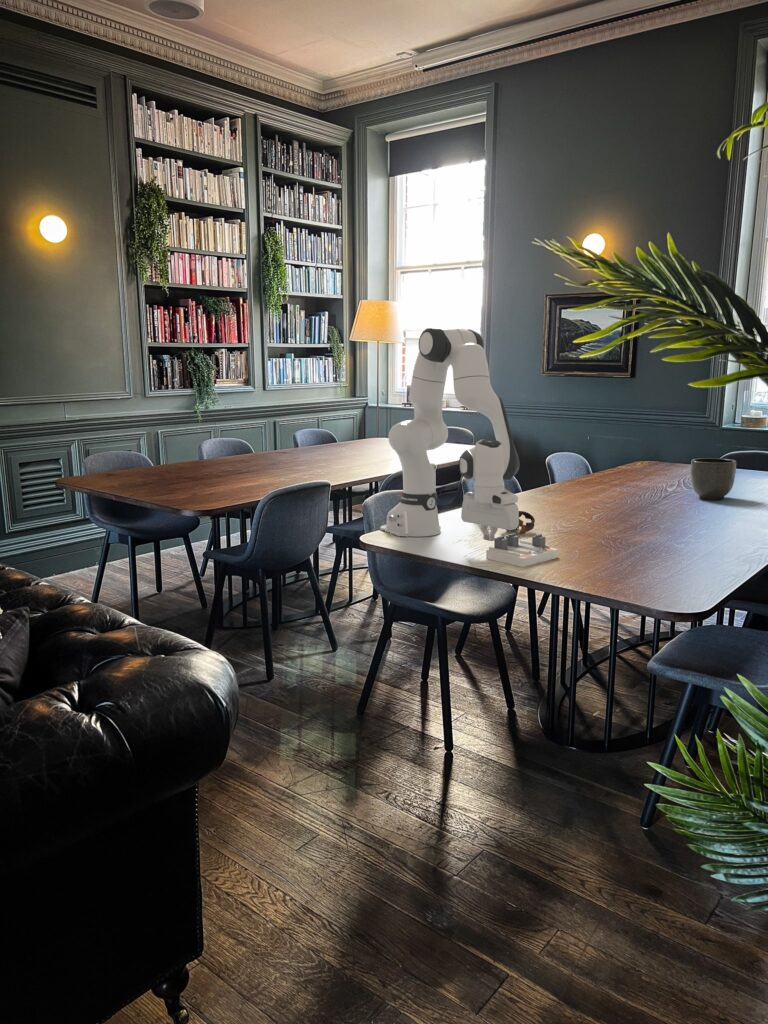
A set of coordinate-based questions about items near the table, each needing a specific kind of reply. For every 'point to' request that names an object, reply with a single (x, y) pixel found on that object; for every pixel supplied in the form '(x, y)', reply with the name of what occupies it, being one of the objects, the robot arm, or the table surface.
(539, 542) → the tab
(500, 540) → the tab
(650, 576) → the table surface
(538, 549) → the switch board
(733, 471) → the planter
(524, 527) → the brown curved ring piece
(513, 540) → the tab middle
